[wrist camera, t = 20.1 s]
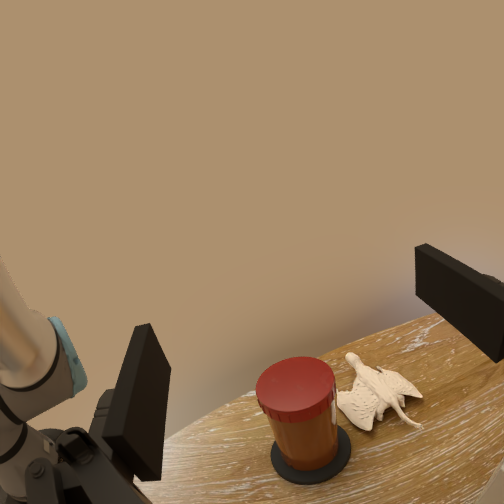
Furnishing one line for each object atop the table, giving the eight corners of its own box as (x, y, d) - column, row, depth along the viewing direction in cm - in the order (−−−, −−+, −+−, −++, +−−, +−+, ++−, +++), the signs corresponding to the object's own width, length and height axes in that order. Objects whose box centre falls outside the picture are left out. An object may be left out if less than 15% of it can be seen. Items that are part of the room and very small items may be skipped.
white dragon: (452, 422, 29) (458, 402, 27) (387, 469, 27) (390, 451, 25) (375, 355, 45) (374, 335, 44) (318, 384, 43) (315, 364, 42)
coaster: (279, 494, 28) (278, 491, 27) (266, 435, 37) (264, 431, 36) (362, 468, 28) (362, 465, 28) (336, 413, 37) (336, 410, 37)
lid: (265, 432, 25) (261, 421, 25) (254, 380, 32) (250, 368, 32) (347, 408, 25) (346, 395, 25) (322, 360, 33) (320, 347, 32)
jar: (286, 477, 29) (265, 421, 25) (276, 434, 35) (254, 372, 32) (346, 459, 29) (341, 398, 25) (329, 419, 36) (319, 353, 32)
